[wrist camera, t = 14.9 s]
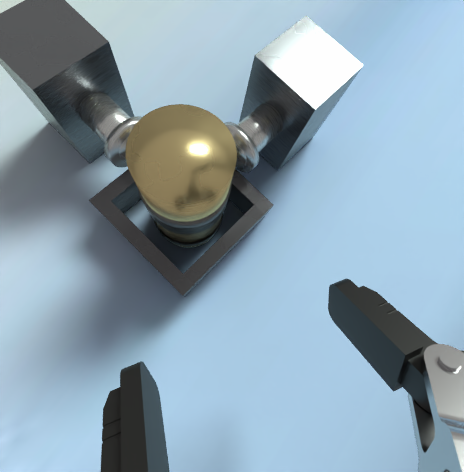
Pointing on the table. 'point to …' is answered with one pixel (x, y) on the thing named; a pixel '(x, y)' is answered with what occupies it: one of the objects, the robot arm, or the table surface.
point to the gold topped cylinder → (183, 170)
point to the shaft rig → (122, 118)
